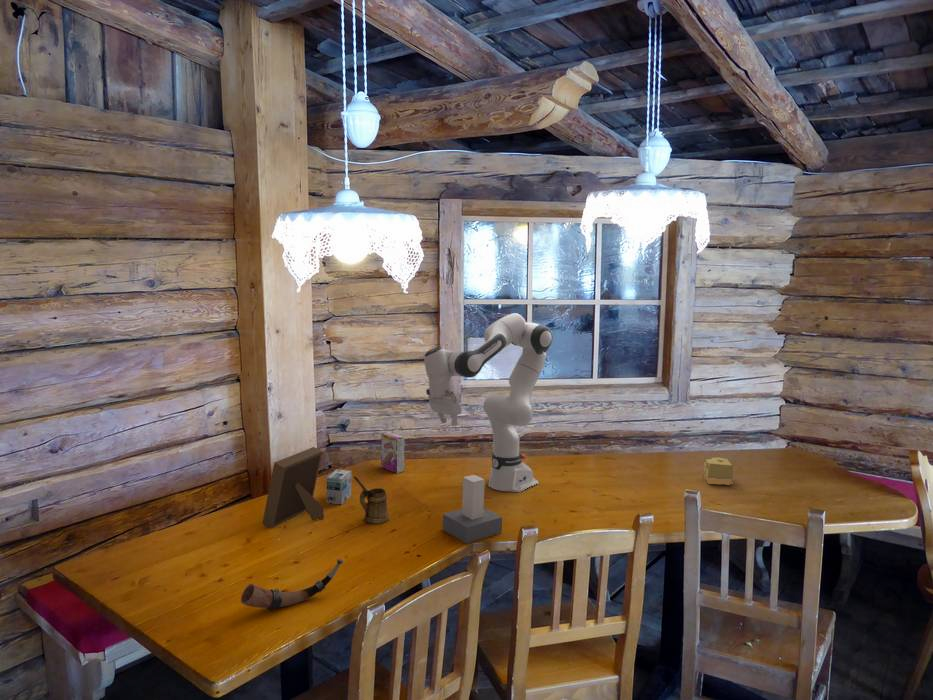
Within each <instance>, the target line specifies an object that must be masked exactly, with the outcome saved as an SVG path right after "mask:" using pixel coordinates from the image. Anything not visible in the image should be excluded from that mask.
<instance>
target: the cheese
mask: <svg viewBox="0 0 933 700" xmlns="http://www.w3.org/2000/svg"><path fill="white" fill-rule="evenodd" d="M733 469H734V467H733V465H732V463H731V462H730V461H729V460H728V458H726V457H724V458H723V457H711V458H710V459H708V458H706V460H705V461H704V464H703V470H702V472H703V471H704V472H705V473H706V476H707V478H716V479H732V480H733V477H734V470H733Z"/></svg>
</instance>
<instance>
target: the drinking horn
mask: <svg viewBox="0 0 933 700" xmlns="http://www.w3.org/2000/svg"><path fill="white" fill-rule="evenodd" d="M336 562H337V563H336V564H335V566H334V567H333V568H332V569H331V571H330V572H329V573H327V574H326V576H325V577H323V578H322V579H321V580H316V581H315V583H314V584H313V585H312V586H309V587H307V588H304V589H300V590H296V591H281V590H279V588H275V589H272V588H271V589H266V588H264V587H260V586H258V585H256V584H254V583H249V584H248V585H247V586H246V587H245V588H244V590H243V592H242V594H241V597H240V602H241V605H245V606H247V607H251V608H264V609H267V610H278V609H279V608H282V607H288V606H289V607H290V606H292V605H296V604H299V603H301V602H304V601H306V600H309V599H310V598H312V597H314V596H315V595H316V594H318V593H321V592H322V591H324V590H325V588H326V586H327V585H328V584H329V583H330V582H331V581H332V580H333V578H334V576H335V575H336V574H337V572H338V570H339V568H340V565H341V564H343V563H344V560H343V559H341V558H336Z"/></svg>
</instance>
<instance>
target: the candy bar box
mask: <svg viewBox="0 0 933 700" xmlns="http://www.w3.org/2000/svg"><path fill="white" fill-rule="evenodd" d="M380 436H381V439H380V440H381V446H380V447H381V448H380V451H381V452H380V453H381V454H380V456H381V457H380V459H381V465H380V468H382V469H384V470H387V471H389V472H392V473H395V474H401V473H403V471H404V472H405V458H406V457H405V454H406V453H405V451H406V450H405V449H406V448H405V445H406V443H405V442H406V437H405V436H404V435H400V434H396V433H394V432H393V431H392V432H391V431H386V432H382V433H381V434H380ZM400 472H401V473H400Z"/></svg>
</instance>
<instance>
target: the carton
mask: <svg viewBox="0 0 933 700" xmlns="http://www.w3.org/2000/svg"><path fill="white" fill-rule="evenodd" d="M485 480H486V479H484V478H482V477H480V476H478V475H476V474H471V475H468V476H467V475H466V476H463V478H462V503H461V504H462V506H461V507H462V508H461V509H462V515H464V516H466V517H468V518H470V519H472V520H474V519H477V518H481V517H483V512H484V508H485V507H484V506H485V505H484V504H485Z"/></svg>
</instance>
